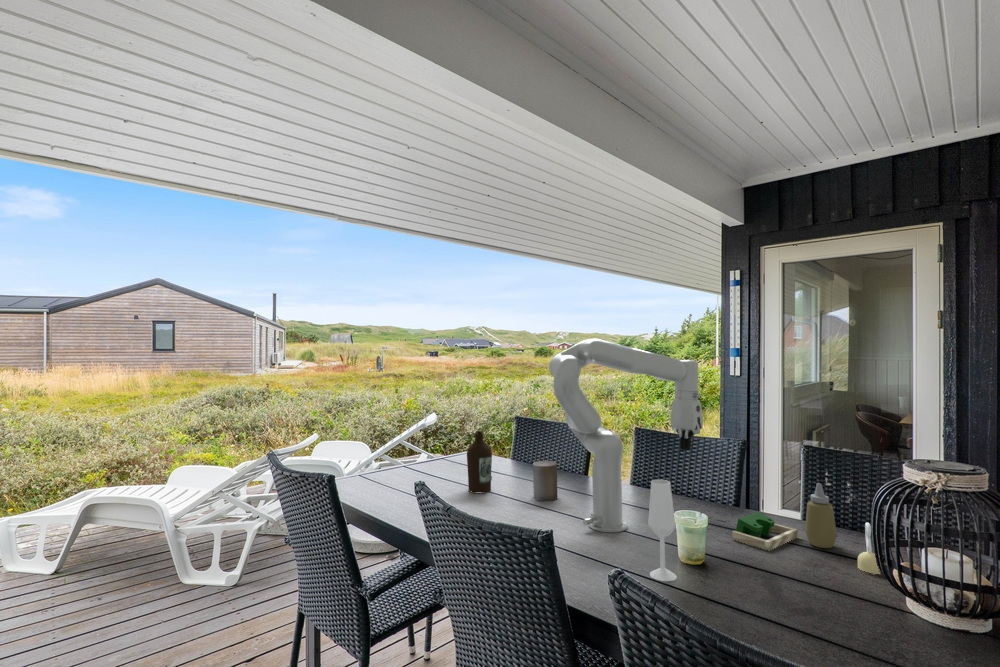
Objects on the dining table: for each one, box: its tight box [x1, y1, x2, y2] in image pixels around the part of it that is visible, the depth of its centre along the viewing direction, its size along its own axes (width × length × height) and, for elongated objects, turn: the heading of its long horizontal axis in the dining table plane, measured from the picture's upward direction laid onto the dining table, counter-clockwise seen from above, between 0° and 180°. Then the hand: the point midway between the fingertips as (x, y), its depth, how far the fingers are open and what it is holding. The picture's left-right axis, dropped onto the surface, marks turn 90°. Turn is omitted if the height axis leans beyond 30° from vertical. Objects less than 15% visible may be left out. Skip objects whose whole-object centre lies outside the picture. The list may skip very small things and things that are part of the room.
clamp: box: [735, 511, 775, 538], centre depth 158 cm, size 12×6×9 cm, turn 118°
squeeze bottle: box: [804, 482, 838, 549], centre depth 150 cm, size 8×8×18 cm
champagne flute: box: [647, 479, 677, 582], centre depth 131 cm, size 7×7×24 cm
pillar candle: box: [532, 460, 559, 502], centre depth 202 cm, size 10×10×15 cm
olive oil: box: [466, 429, 493, 493], centre depth 214 cm, size 11×11×25 cm
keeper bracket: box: [731, 522, 799, 552], centre depth 155 cm, size 17×11×2 cm, turn 125°
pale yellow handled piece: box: [857, 522, 881, 575], centre depth 133 cm, size 6×5×12 cm
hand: (685, 449), depth 174 cm, fingers closed
